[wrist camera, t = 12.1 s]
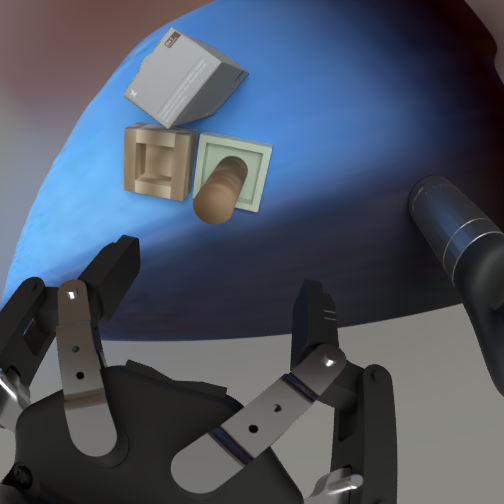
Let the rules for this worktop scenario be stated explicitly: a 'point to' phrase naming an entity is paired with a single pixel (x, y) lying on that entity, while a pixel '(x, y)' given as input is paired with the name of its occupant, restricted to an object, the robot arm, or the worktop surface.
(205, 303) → the worktop surface
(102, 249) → the robot arm
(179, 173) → the pocket block
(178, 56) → the skincare box
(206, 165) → the tray
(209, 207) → the dowel
